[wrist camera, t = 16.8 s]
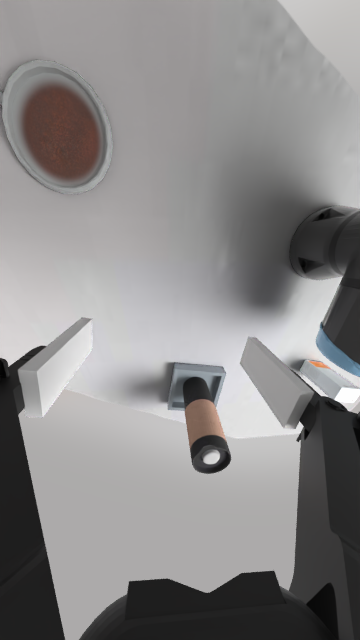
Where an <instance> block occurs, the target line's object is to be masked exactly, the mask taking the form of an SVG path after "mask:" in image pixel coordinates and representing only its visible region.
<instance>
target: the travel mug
mask: <svg viewBox="0 0 360 640" xmlns="http://www.w3.org/2000/svg"><path fill="white" fill-rule="evenodd" d="M183 397H184V408H185V417H186V424H187V431H188V437H189V445H190V452H191V458H192V465H193V467H194V468H195V470H197V471H198V472H201V473H206V474H211V473H216V472H219V471H221V470H223V469H224V468H226V467H227V466H228V465H229V463H230V461H231V455H230V451H229V448H228V445H227V442H226V439H225V435H224V432H223V429H222V426H221V423H220V420H219V417H218V413H217V410H216V407H215V404H214V402H213V399H212V396H211V394H210V391H209V388H208V386H207V383H206V381H205V380H204V379H203V378H200V377H191V378H189V379H187V380H186V381H185V382H184V384H183Z"/></svg>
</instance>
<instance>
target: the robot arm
mask: <svg viewBox="0 0 360 640" xmlns="http://www.w3.org/2000/svg"><path fill="white" fill-rule="evenodd" d="M290 261H291V264H292V266H293V268H294V270H295V271H296V272H297V273H298V274H299V275H300V276H302V277H304V278H308V279H313V280H326V279H331V278H336V277H341V276H343V278H342V280H341V282H340V284H339V287H338V289H337V291H336V293H335V296H334V298H333V300H332V302H331V304H330V307H329V309H328V311H327V313H326V315H325V317H324V319H323V321H322V322H321V324H320V330H319V332H318V335H317V338H316V345H317V347H318V348H319V350H320V352H321V353H322V354H323V355H324V356H325V357H326V358H327V359H329V360H330V361H331V362H333V363H334V364H336V365H337V366H339V367H340V368H342V369H344V370H346V371H347V372H349V373H351V374H353V375H356V376H358V377H360V209H358V208H352V207H346V206H333V207H329V208H325V209H321V210H319V211H317V212H315V213H313V214H311V215H310V216H309V217H308V218H306V219H305V220H304V221H303V222H302V224H301V225H300V226H299V228H298V229H297V231H296V232H295V234H294V237H293V239H292V242H291V246H290ZM91 351H92V319H90V318H81V319H80V320H78V321H77V322H76V323H75V324H73V325H72V326H71V327H70V328H68V329H67V330H66V331H65V332H64V333H62V334H61V335H60V336H59V337H57V338H56V339H55V340H54V341H53V342H51V343H50V344H49V345H48V346H39V347H37V348H34V349H32V350H31V351H29V352H28V353H27V354H25V356H23V357H21V358H20V359H19V360H17V361H16V362H14V363H13V364H12V365H10V366H9V367H8V363H7V361H6V360H5V359H2V358H0V640H65V637H64V633H63V628H62V623H61V618H60V614H59V608H58V604H57V599H56V595H55V589H54V584H53V580H52V575H51V570H50V565H49V560H48V556H47V552H46V547H45V542H44V538H43V533H42V528H41V523H40V518H39V513H38V509H37V504H36V499H35V495H34V489H33V485H32V480H31V475H30V470H29V465H28V460H27V456H26V451H25V446H24V441H23V436H22V431H21V427H20V422H19V417H18V414H19V413H20V412H21V411H22V410H23V409H25V415H26V417H38V418H43V417H44V416H45V414H46V413H47V411H48V410H49V409H50V407H51V406H52V404H53V403H54V402H55V400H56V399H57V398H58V396H59V395H60V393H61V392H62V391H63V389H64V388H65V387H66V385H67V384H68V382H69V381H70V380H71V378H72V377H73V376H74V374H75V373H76V371H77V370H78V369H79V367H80V366H81V364H82V363H83V362H84V360H85V359H86V358H87V356H88V355H89V353H90V352H91ZM240 364H241V366H242V367H243V369H244V370H245V372H246V373H247V375H248V376H249V378H250V379H251V381H252V382H253V384H254V385H255V387H256V388H257V390H258V391H259V392H260V394H261V395H262V397H263V398H264V400H265V401H266V403H267V404H268V406H269V407H270V409H271V410H272V412H273V413H274V415H275V416H276V418H277V419H278V421H279V422H280V424H281V425H282V426H283V428H287V429H296V427H297V425H298V423H299V421H300V422H301V423H302V425H303V426H304V427H303V429H302V431H301V433H300V435H299V437H298V438H297V441H298V442H299V440H301V449H300V469H299V489H298V508H297V528H296V548H295V567H294V575H293V579H292V583H291V586H290V589H289V591H288V590H286V589H284V588H282V587H280V586H279V584H278V580H277V578H276V575H275V572H274V571H265V572H251V573H241V574H239V575H238V576H236V577H235V578H233V579H232V580H230V581H228V582H227V583H225V584H223V585H222V586H220V587H219V588H217V589H216V590H214V591H212V592H210V593H204V592H202V591H199V590H196V589H194V588H191V587H188V586H186V585H183V584H181V583H178V582H175V581H173V580H170V579H155V580H142V581H130V582H129V586H128V593H127V595H125V596H123V597H121V598H120V599H118V600H116V601H115V602H114V603H112V604H111V605H110V606H108V607H107V608H106V609H105V610H104V611H103V612H102V613H101V614H100V615H99V616H98V617H97V618H96V619H95V620H94V621H93V622H92V624H91V625H90V626H89V627H88V628H87V630H86V631H85V632H84V634H83V635H82V636H81V638H80V639H79V640H360V412H359V413H358V414H356V413H353V412H349V411H348V410H347V409H346V408H345V407H344V406H343V405H342V404H340V403H339V402H337V401H336V400H334V399H332V398H329V397H325V396H322V397H321V396H320V395H319V394H318V393H317V392H316V391H315V390H314V389H313V388H312V387H311V386H309V385H308V384H307V383H306V382H305V381H304V380H303V379H301V377H300V376H299V375H298V374H296V373H295V372H294V371H292V370H290V369H289V368H288V367H287V366H286V365H285V364H284V363H283V362H282V361H280V360H279V359H278V358H277V357H276V356H275V355H274V354H273V353H272V352H271V351H270V350H269V349H268V348H267V347H266V346H265V345H263V344H262V343H261V342H260V341H259V340H258V339H257V338H254V337H248V339H247V342H246V346H245V349H244V352H243V355H242V358H241V361H240Z"/></svg>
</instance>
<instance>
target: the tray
mask: <svg viewBox="0 0 360 640" xmlns="http://www.w3.org/2000/svg"><path fill="white" fill-rule="evenodd" d="M225 376H226V372H225V370H224V368H223V367H219V366H208V365H197V364H186V363H174V368H173V374H172V380H171V385H170V391H169V396H168V410H181V411H185V408H184V397H183V384H184V382H185V381H186V380H187V379H189V378H191V377H200V378H203V379H204V380H205V381H206V383H207V386H208V388H209V391H210V394H211V396H212V399H213V402H214V404H215V407H216V406H217V402H218V399H219V396H220V392H221V389H222V386H223V382H224V379H225Z"/></svg>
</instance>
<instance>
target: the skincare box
mask: <svg viewBox="0 0 360 640" xmlns="http://www.w3.org/2000/svg"><path fill="white" fill-rule="evenodd" d="M300 372H302V373H303V374H304V375H305V376H306V377H307V378H308V379H310V380H311V381H312V382H313V383H314V384H315V385H316V386H318V387H319V388H320V389H321V390H322V391H323V392H324V393H325V394H327V395H328V396H329V397H330V398H332V399H334V400H336V401H341V402H349V403H354V402H355V400H356V399H357V397H358V396H359V395H360V388H358V387H357V386H356V385H354V384H353V383H351V382H350V381H348V380H347V379H346V378H344V377H343V376H341V375H340V374H339V373H337V372H336V371H334V370H333V369H331V368H330V367H329V366H327V365H326V364H324V363H323V362H317V361H311V360H305V361H304V363H303V365H302V367H301V369H300Z"/></svg>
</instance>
